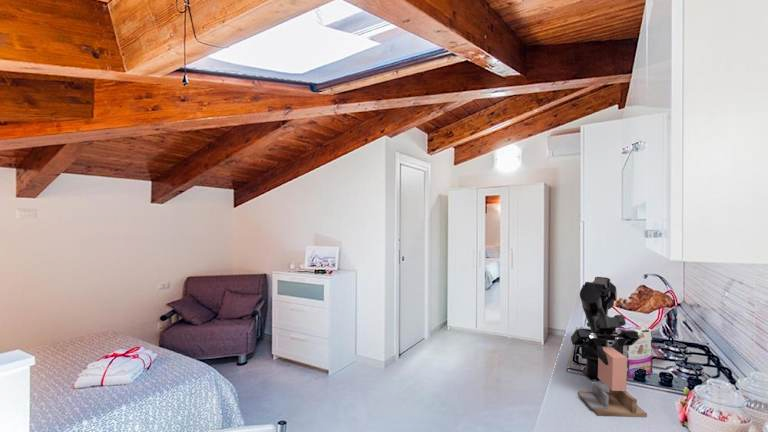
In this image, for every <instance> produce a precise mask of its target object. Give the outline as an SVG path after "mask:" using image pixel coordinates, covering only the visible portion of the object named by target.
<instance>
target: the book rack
mask: <svg viewBox="0 0 768 432" xmlns="http://www.w3.org/2000/svg"><path fill="white" fill-rule="evenodd" d="M591 385H592V386H591V391H578V392H577V395H578V396H579V398H581V400H583V402H584V403H585V404H586V405H587V406H588V407H589V409H591V411H592V412H593V414H595V415H596V416H597V417H627V418H629V417H630V418H631V417H632V418H647V417H648V413H647V412H646V411H645V410H643V408H641V407H640V406H639V405H638V404H637V403H638V402H637V401H638V400H637V399H636V398H635V397H634V396H633V395H632V394H631V393H629V392H628V391H627V390H626V391H612V390H611V389H610V388H609V387H608V391H604V389H602V388H601V387H600V386H599V385H598V384H597V383H596V382H591Z"/></svg>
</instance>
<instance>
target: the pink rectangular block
mask: <svg viewBox="0 0 768 432" xmlns="http://www.w3.org/2000/svg"><path fill="white" fill-rule="evenodd" d="M602 348H603V350H604V353H605V355H606V358H607V361H608V365H605V364H604V363H603V362H602V361H601V359H600V358H599V357H598V378H599V379H600V380H599V381H600V382H602V383H603V384H604V385H605V386H607V388H608V389H609V388H610V389H611V390H612V391H627V377H626V373H627V358H626V357H625V356H624V355H622V354H621V353H619V352H618V351H617V350H615V349H614V348H612V347H611V346H608V347H602Z"/></svg>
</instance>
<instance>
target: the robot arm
mask: <svg viewBox="0 0 768 432" xmlns="http://www.w3.org/2000/svg"><path fill="white" fill-rule="evenodd" d="M579 297H580V302H581V305H582V306H581V307H582V308H583V309H582V310H583V312H584V315H585V317H586V320H587V322H586V326H587V327H589V329H590V330H588V329H576V330H575V331H574V332H573V334H572V335H571V336H570V341H571V343H572V345H573V346H580V348H581V349H580V353H581V359H582V360H586V370H582V372H581V373H582V374H584V376H586V377H587V378H588V379H589V380H590V381H601V380H600V379H599V378H598V357H599V358H600V359H601V361H602V362H603V363H604V364H605V365H608V361H607V358H606V355H605V353H604V350H603V348H602V347H609V345H608V341H611V343H612V345H611V346H610V347H612V348H614V349H615V350H617V351H618V352H619V353H621V354H622V355H623V347H624V346H631V345H633V344H634V343H635V342H636V341H637V340H638V339H639V338H640V337H639V335H638V333H637V332H636V331H634V330H622V332H621V333H620V334H617V333H616V332H617V329H621V328H622V327H623V326H626V324H627V323H626V319H625V317H624V316H623V314H616V315H614V316H609V315H608V313H609V311H610V309H612V308H613V307H614V305H615V302H617V297H618V295H617V286H615V285H614V284H613V283H612V282H611V278H609V277H606V276H604V277H603V276H595V277H594V280H593V281H591V282H590V281H585V283H584V284H582V287H581V288H580V292H579Z"/></svg>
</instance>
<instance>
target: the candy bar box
mask: <svg viewBox="0 0 768 432" xmlns="http://www.w3.org/2000/svg"><path fill="white" fill-rule="evenodd" d="M622 330H634V331H636V332H637V333H638V335H639V337H640V338H639V339H638V340H637V341H636V342H635V343H634V344H633V345H631V346H624V347H623V355H624V356H625V357H626V358H627V373H626V379H630V378H629V377H633V376H634V372H635V371H637V370H639V369H644V370H646V372H647V373H648V374H650V375H652V374H653V372H652V371H653V369H652V367H653V361H652V360H653V354H652V353H653V329H650V328H647V327H645V326H642V325H637V326H631V327H621V328H616V334H620V333H621V332H622ZM633 378H634V377H633Z"/></svg>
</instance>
